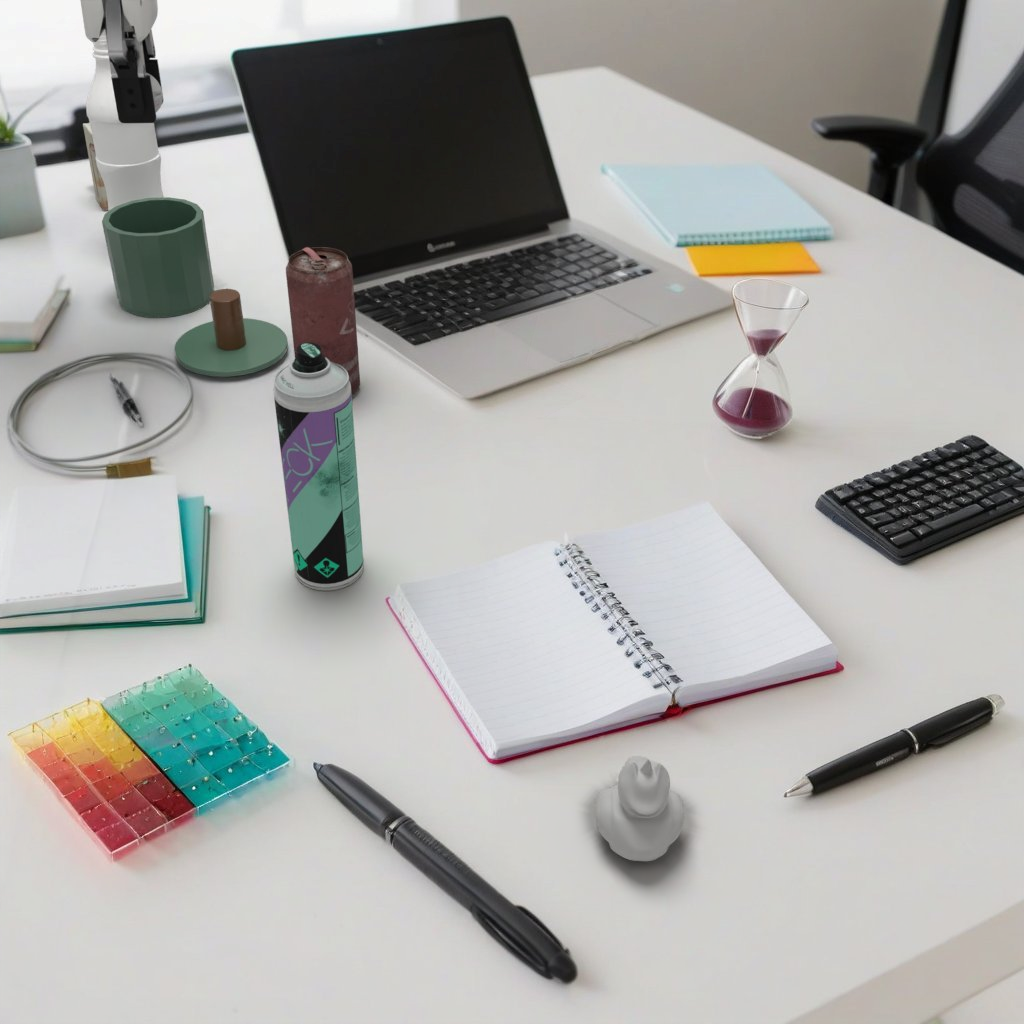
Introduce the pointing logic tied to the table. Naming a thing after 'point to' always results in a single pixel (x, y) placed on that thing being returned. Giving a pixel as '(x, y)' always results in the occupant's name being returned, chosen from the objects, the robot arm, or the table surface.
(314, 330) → the can
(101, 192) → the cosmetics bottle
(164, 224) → the tin
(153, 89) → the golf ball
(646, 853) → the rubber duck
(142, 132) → the water bottle
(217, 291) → the tin lid
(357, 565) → the spray can
